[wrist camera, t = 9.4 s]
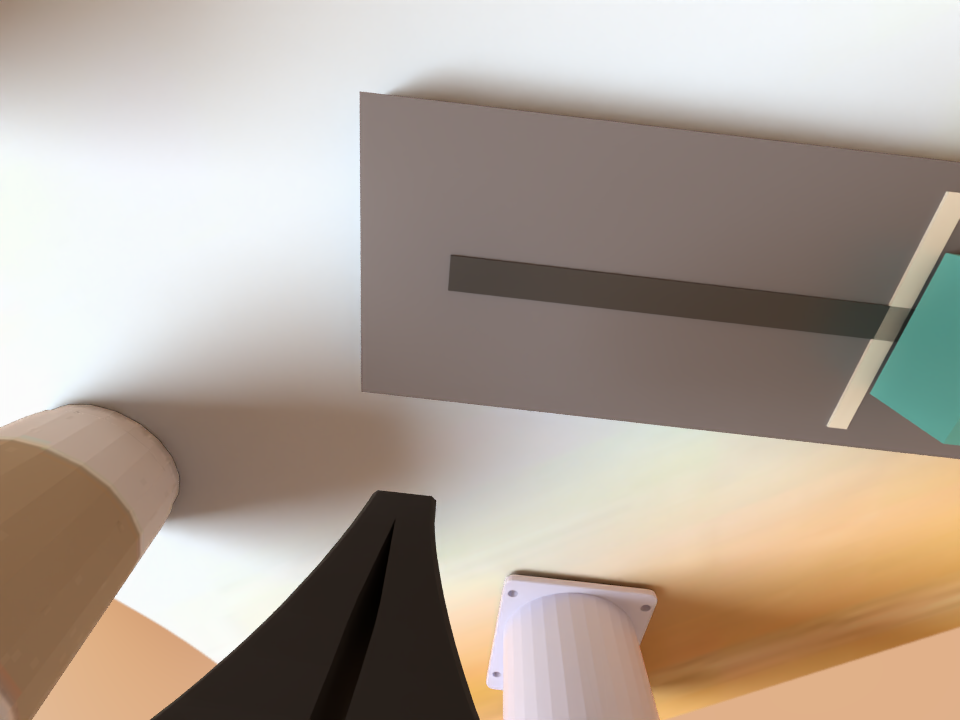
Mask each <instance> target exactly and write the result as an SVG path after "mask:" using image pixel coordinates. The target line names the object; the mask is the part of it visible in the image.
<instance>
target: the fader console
mask: <svg viewBox="0 0 960 720" xmlns="http://www.w3.org/2000/svg"><path fill="white" fill-rule="evenodd" d="M360 215H361V384H362V392H371V393H379V394H388V395H397V396H406V397H415V398H424V399H432V400H441V401H450V402H459V403H468V404H477V405H486V406H494V407H503V408H512V409H521V410H530V411H539V412H547V413H556V414H565V415H574V416H583V417H592V418H601V419H609V420H618V421H627V422H636V423H645V424H654V425H662V426H671V427H680V428H689V429H698V430H707V431H716V432H724V433H733V434H742V435H751V436H760V437H769V438H777V439H786V440H795V441H804V442H813V443H822V444H831V445H839V446H848V447H857V448H866V449H875V450H884V451H892V452H901V453H910V454H919V455H928V456H937V457H946V458H954V459H960V446H959V445H950V444H943V443H941V442H940V441H938V440H937V439H935V438H934V437H932V436H931V435H929V434H928V433H927V432H925V431H924V430H922V429H921V428H919V427H918V426H916V425H915V424H913V423H912V422H910V421H909V420H908V419H906V418H905V417H903V416H902V415H900V414H899V413H897V412H896V411H894V410H893V409H891V408H890V407H889V406H887V405H886V404H884V403H883V402H881V401H880V400H878V399H877V398H875V397H874V396H872V395H871V394H870V392H871V390H872V389H873V387H874V385H875V383H876V381H877V379H878V377H879V376H880V374H881V372H882V370H883V368H884V366H885V364H886V363H887V361H888V359H889V357H890V355H891V353H892V352H893V350H894V348H895V346H896V344H897V342H898V340H899V339H900V337H901V335H902V333H903V331H904V329H905V328H906V326H907V324H908V322H909V320H910V318H911V316H912V315H913V313H914V311H915V309H916V307H917V305H918V303H919V302H920V300H921V298H922V296H923V294H924V292H925V291H926V289H927V287H928V285H929V283H930V281H931V279H932V278H933V276H934V274H935V272H936V270H937V268H938V267H939V265H940V263H941V261H942V259H943V257H944V255H945V254H946V253H951V254H959V255H960V162H953V161H944V160H936V159H927V158H919V157H910V156H902V155H894V154H885V153H877V152H868V151H860V150H851V149H843V148H834V147H826V146H817V145H809V144H800V143H792V142H783V141H775V140H766V139H758V138H749V137H741V136H732V135H724V134H715V133H707V132H698V131H690V130H681V129H673V128H664V127H656V126H647V125H639V124H630V123H622V122H614V121H605V120H597V119H588V118H580V117H571V116H563V115H554V114H546V113H537V112H529V111H520V110H512V109H503V108H495V107H486V106H478V105H469V104H461V103H452V102H444V101H435V100H427V99H418V98H410V97H401V96H393V95H384V94H376V93H367V92H360Z"/></svg>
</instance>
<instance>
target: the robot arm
mask: <svg viewBox="0 0 960 720" xmlns="http://www.w3.org/2000/svg"><path fill="white" fill-rule="evenodd" d="M435 511H436V500H435V499H434V498H433V497H432V496H424V495H415V494H406V493H397V492H388V491H379V490H378V491H376V492H375V493H373V495H372V496H371V498H370V499H369V501H368V502H367V504H366V505H365V507H364V508H363V509H362V511H361V512H360V514H359V515H358V516H357V518H356V519H355V520H354V522H353V523H352V524H351V526H350V527H349V528H348V529H347V531H346V532H345V533H344V535H343V536H342V537H341V538H340V540H339V541H338V542H337V543H336V544H335V545H334V547H333V548H332V549H331V550H330V551H329V553H328V554H327V555H326V556H325V557H324V559H323V560H322V561H321V562H320V563H319V565H318V566H317V567H316V568H315V569H314V570H313V571H312V572H311V574H310V575H309V576H308V577H307V578H306V579H305V580H304V581H303V582H302V583H301V584H300V585H299V586H298V588H297V589H296V590H295V591H294V592H293V593H292V594H291V595H290V596H289V597H288V598H287V599H286V600H285V601H284V603H283V604H282V605H281V606H280V607H279V608H278V609H277V610H276V611H275V612H274V613H273V614H272V615H271V616H270V617H269V618H268V619H267V620H266V621H264V622H263V623H262V624H261V625H260V626H259V627H258V628H257V629H256V630H255V631H254V632H253V633H252V634H251V635H250V636H249V637H248V638H247V639H246V640H244V641H243V642H242V643H241V644H240V645H239V646H238V647H237V648H236V649H235V650H233V651H232V652H231V653H230V654H229V655H228V656H227V657H225V658H224V659H223V660H222V661H221V662H220V663H219V664H218V665H216V666H215V667H214V668H213V669H212V670H211V671H210V672H208V673H207V674H206V675H205V676H204V677H203V678H201V679H200V680H199V681H198V682H197V683H196V684H194V685H193V686H192V687H191V688H190V689H188V690H187V691H186V692H185V693H184V694H182V695H181V696H180V697H179V698H177V699H176V700H175V701H174V702H172V703H171V704H170V705H169V706H167V707H166V708H165V709H163V710H162V711H161V712H159V713H158V714H157V715H156V716H154V717H153V718H152V719H151V720H480V719H479V716H478V714H477V711H476V708H475V706H474V703H473V700H472V697H471V694H470V690H469V687H468V684H467V681H466V678H465V675H464V672H463V669H462V665H461V662H460V658H459V655H458V652H457V648H456V645H455V641H454V637H453V633H452V629H451V625H450V621H449V617H448V613H447V608H446V604H445V600H444V595H443V590H442V584H441V578H440V572H439V566H438V560H437V552H436V542H435V526H434V522H435ZM657 600H658V599H657V596H656V594H655V592H654V591H652V590H649V589H642V588H633V587H624V586H615V585H606V584H597V583H588V582H579V581H570V580H561V579H552V578H543V577H533V576H524V575H515V574H514V575H509V576H507V577H506V578H505V580H504V586H503V591H502V597H501V602H500V607H499V613H498V618H497V624H496V629H495V634H494V640H493V645H492V651H491V656H490V661H489V667H488V672H487V678H486V684H487V686H488V687H489V688H491V689H498V690H503V720H660V719H659V716H658V712H657V708H656V705H655V701H654V697H653V694H652V690H651V686H650V683H649V679H648V675H647V672H646V668H645V664H644V661H643V657H642V653H641V650H640V644H641V641H642V639H643V636H644V634H645V631H646V629H647V626H648V624H649V621H650V619H651V616H652V614H653V611H654V609H655V606H656V604H657Z"/></svg>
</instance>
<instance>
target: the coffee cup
mask: <svg viewBox="0 0 960 720" xmlns="http://www.w3.org/2000/svg"><path fill="white" fill-rule="evenodd" d="M178 494H179V474H178V471H177V469H176V466H175V463H174V460H173V458H172V457H171V455H170V454H169V452H168V451H167V450H166V448H165V447H164V446H163V444H162V443H161V442H160V440H159V439H157V438H156V437H155V436H154V435H153V434H151V433H150V432H149V431H148V430H147V429H145V428H144V427H143V426H142V425H141V424H139V423H137V422H135V421H133V420H132V419H130V418H128V417H126V416H124V415H122V414H120V413H118V412H116V411H113V410H109V409H105V408H101V407H98V406H94V405H65V406H62V407H59V408H56V409H53V410H45V411H42V412H39V413H36V414H32V415H29V416H26V417H24V418H21V419H19V420H17V421H14V422H12V423H10V424H7V425H5V426H3V427H0V720H32V719H33V717H34V715H35V714H36V713H37V711H38V710H39V708H40V706H41V705H42V704H43V702H44V701H45V699H46V698H47V696H48V695H49V693H50V692H51V690H52V689H53V687H54V686H55V685H56V683H57V682H58V680H59V679H60V677H61V676H62V674H63V673H64V671H65V670H66V668H67V667H68V665H69V664H70V662H71V661H72V659H73V658H74V656H75V655H76V653H77V652H78V650H79V649H80V647H81V646H82V645H83V643H84V642H85V640H86V639H87V637H88V636H89V634H90V633H91V631H92V629H93V628H94V627H95V625H96V624H97V622H98V621H99V619H100V618H101V616H102V615H103V613H104V612H105V611H106V609H107V608H108V606H109V605H110V603H111V602H112V600H113V599H114V597H115V596H116V594H117V593H118V591H119V590H120V588H121V587H122V585H123V584H124V582H125V581H126V579H127V578H128V577H129V575H130V574H131V572H132V571H133V569H134V568H135V566H136V565H137V563H138V562H139V560H140V559H141V557H142V556H143V554H144V553H145V551H146V550H147V548H148V547H149V545H150V544H151V542H152V541H153V539H154V538H155V537H156V535H157V534H158V532H159V531H160V529H161V528H162V526H163V525H164V523H165V521H166V519H167V518H168V516H169V514H170V512H171V510H172V505H173V503H174V501H175V499H176V497H177V496H178Z"/></svg>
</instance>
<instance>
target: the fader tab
mask: <svg viewBox="0 0 960 720" xmlns="http://www.w3.org/2000/svg"><path fill="white" fill-rule="evenodd" d="M870 394H871V395H872V396H874V397H875V398H877V399H878V400H880V401H881V402H883V403H884V404H886V405H887V406H889V407H890V408H891V409H893V410H894V411H896V412H897V413H899V414H900V415H902V416H903V417H905V418H906V419H908V420H909V421H910V422H912V423H913V424H915V425H916V426H918V427H919V428H921V429H922V430H924V431H925V432H927V433H928V434H929V435H931V436H932V437H934V438H935V439H937V440H938V441H940V442H941V443H943V444H950V445H959V446H960V255H959V254H951V253H946V254H945V255H944V257H943V259H942V261H941V263H940V265H939V267H938V268H937V270H936V272H935V274H934V276H933V278H932V279H931V281H930V283H929V285H928V287H927V289H926V291H925V292H924V294H923V296H922V298H921V300H920V302H919V303H918V305H917V307H916V309H915V311H914V313H913V315H912V316H911V318H910V320H909V322H908V324H907V326H906V328H905V329H904V331H903V333H902V335H901V337H900V339H899V340H898V342H897V344H896V346H895V348H894V350H893V352H892V353H891V355H890V357H889V359H888V361H887V363H886V364H885V366H884V368H883V370H882V372H881V374H880V376H879V377H878V379H877V381H876V383H875V385H874V387H873V389H872V390H871V392H870Z"/></svg>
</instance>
